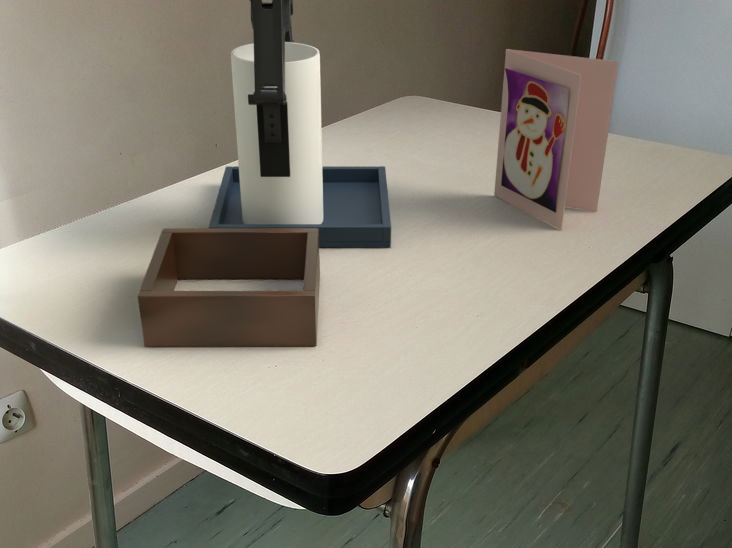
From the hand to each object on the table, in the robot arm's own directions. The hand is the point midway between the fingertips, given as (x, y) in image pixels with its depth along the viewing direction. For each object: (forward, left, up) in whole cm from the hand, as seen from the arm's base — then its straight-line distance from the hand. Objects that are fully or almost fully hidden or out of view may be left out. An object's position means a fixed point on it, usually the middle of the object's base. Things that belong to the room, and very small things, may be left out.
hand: (279, 152), depth 98 cm
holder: (-3, -19, -7) cm, 21 cm away
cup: (0, 0, -7) cm, 7 cm away
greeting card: (+28, +5, -8) cm, 29 cm away
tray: (+2, +3, -7) cm, 8 cm away
